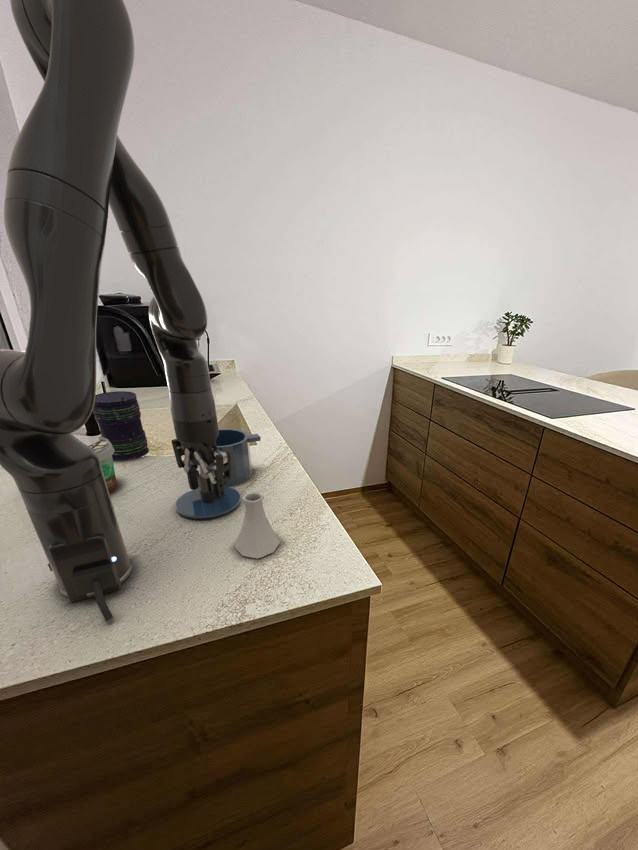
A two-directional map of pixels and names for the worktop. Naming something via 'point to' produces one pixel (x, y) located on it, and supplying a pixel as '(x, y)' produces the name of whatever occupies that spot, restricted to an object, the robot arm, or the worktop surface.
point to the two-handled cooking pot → (235, 454)
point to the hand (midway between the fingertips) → (207, 492)
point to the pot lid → (206, 500)
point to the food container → (106, 461)
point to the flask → (256, 529)
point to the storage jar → (121, 424)
